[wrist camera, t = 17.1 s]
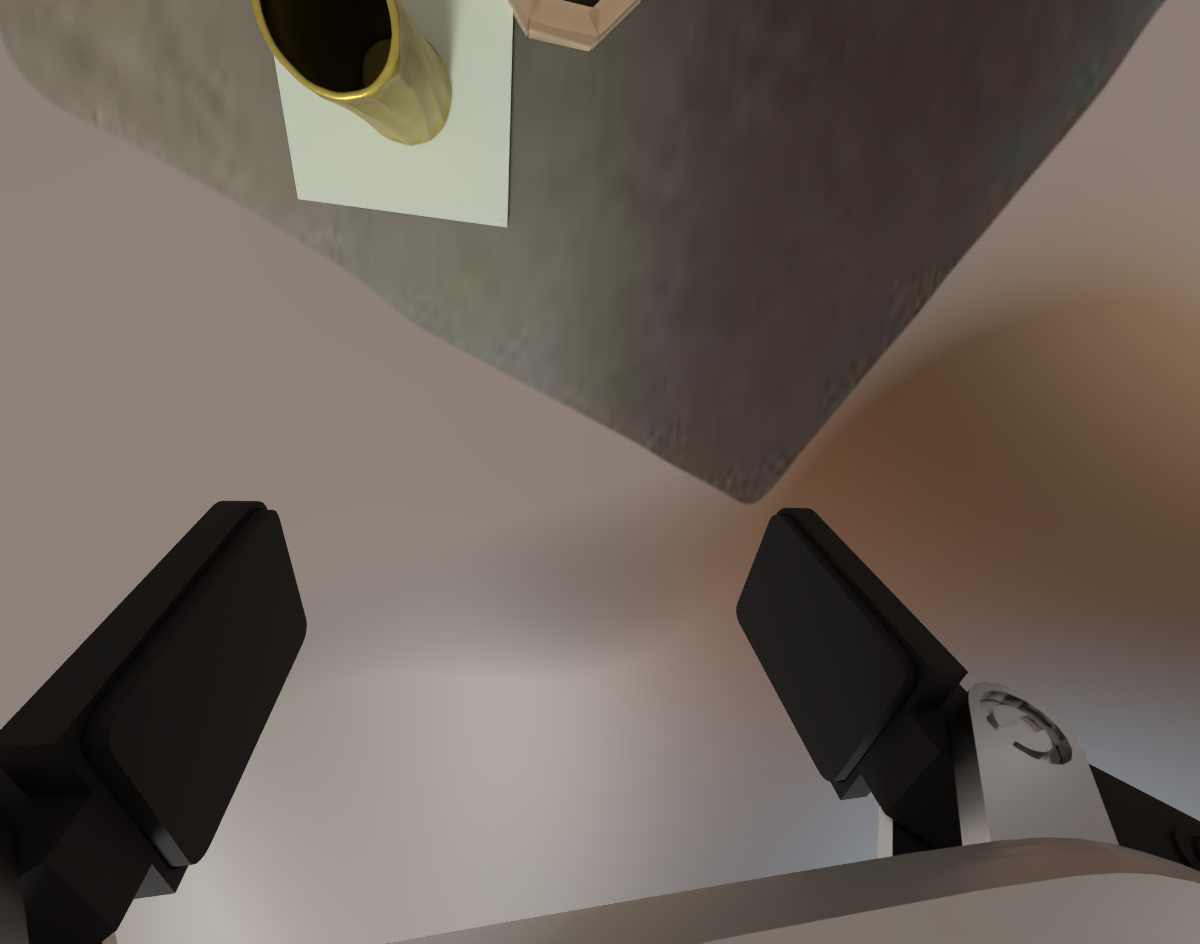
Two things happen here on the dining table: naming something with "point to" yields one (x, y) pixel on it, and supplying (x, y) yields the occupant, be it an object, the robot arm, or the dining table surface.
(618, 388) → the dining table surface
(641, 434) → the dining table surface
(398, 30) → the vase
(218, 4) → the dining table surface
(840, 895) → the robot arm
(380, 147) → the mat
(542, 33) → the ring
